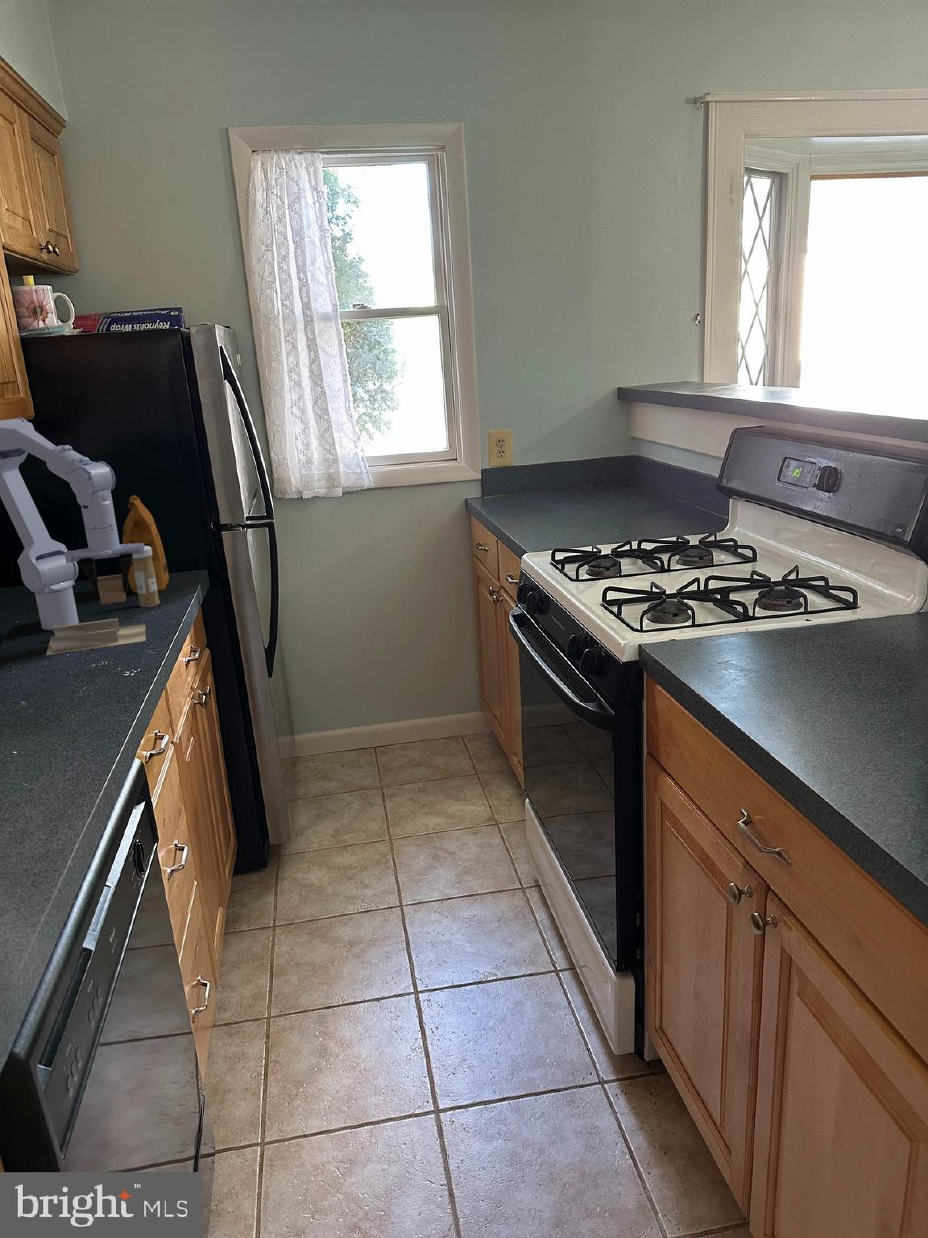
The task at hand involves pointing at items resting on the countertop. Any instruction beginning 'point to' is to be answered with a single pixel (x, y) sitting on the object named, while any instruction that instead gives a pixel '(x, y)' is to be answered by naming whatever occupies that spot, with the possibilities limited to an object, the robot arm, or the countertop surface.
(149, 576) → the sprinkles bottle
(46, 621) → the robot arm
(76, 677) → the countertop surface
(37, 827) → the countertop surface
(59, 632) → the frame
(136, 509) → the coffee package
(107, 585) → the walnut block
